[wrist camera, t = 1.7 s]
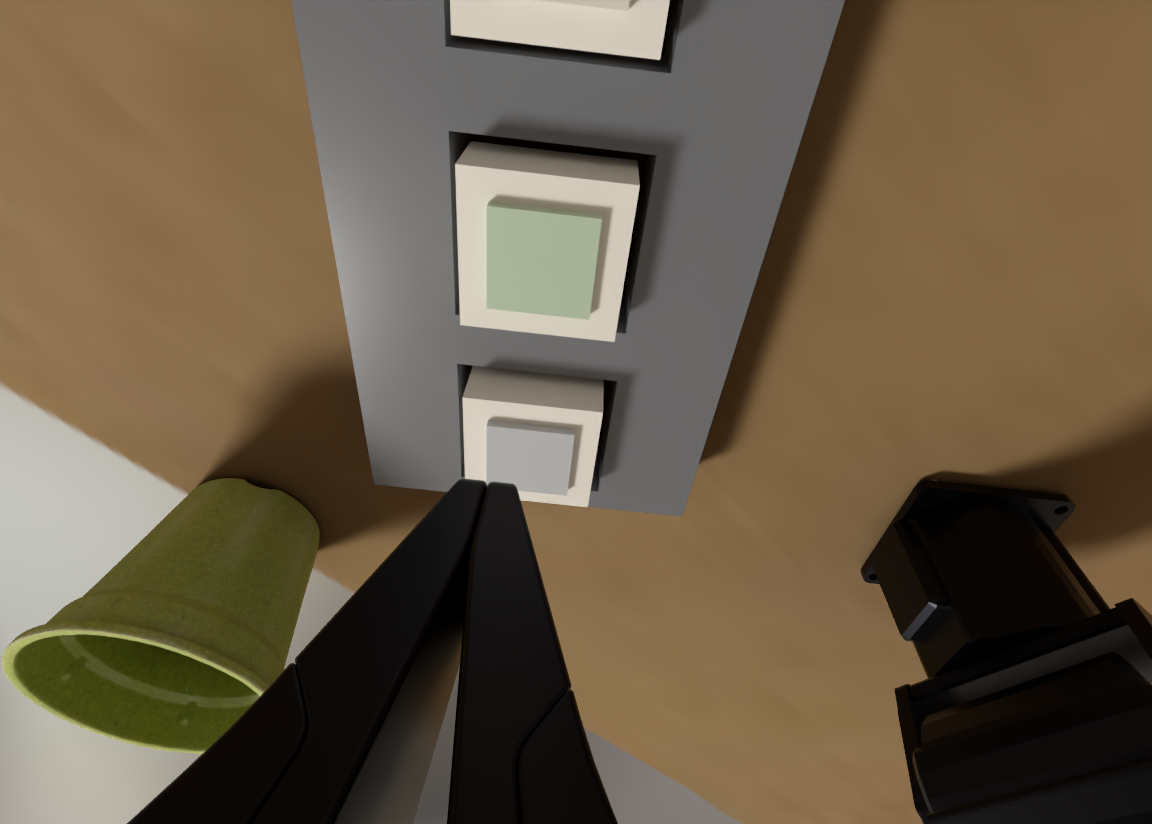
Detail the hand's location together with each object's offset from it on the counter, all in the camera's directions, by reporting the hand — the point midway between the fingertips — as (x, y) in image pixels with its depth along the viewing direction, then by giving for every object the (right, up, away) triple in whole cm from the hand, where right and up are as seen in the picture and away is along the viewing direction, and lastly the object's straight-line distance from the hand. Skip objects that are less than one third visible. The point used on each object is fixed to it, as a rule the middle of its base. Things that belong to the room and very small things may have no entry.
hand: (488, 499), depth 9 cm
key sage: (+1, +7, +8) cm, 10 cm away
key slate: (0, +1, +12) cm, 13 cm away
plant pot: (-14, -4, +20) cm, 24 cm away
